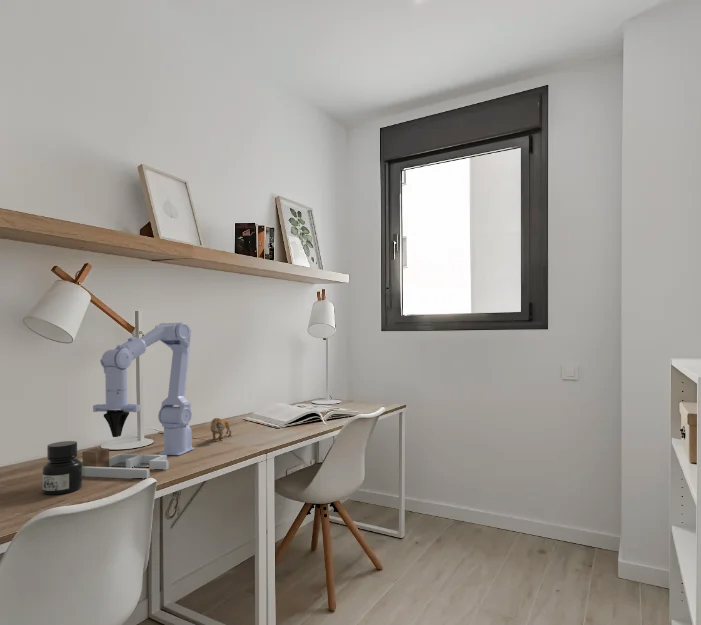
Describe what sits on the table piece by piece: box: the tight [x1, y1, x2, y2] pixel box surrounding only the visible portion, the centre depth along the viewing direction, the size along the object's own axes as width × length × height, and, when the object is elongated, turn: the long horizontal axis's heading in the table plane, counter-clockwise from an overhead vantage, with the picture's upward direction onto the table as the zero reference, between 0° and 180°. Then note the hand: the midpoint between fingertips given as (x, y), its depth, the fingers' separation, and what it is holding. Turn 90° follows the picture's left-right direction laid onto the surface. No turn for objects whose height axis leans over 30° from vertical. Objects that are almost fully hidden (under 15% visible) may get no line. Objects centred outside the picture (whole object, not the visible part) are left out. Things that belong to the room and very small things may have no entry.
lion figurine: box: [210, 417, 232, 442], centre depth 189 cm, size 15×5×9 cm, turn 178°
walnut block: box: [81, 447, 110, 467], centre depth 148 cm, size 5×5×6 cm
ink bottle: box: [41, 440, 83, 495], centre depth 130 cm, size 10×9×12 cm
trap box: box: [80, 453, 170, 480], centre depth 148 cm, size 16×28×2 cm, turn 77°
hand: (116, 436), depth 146 cm, fingers closed
